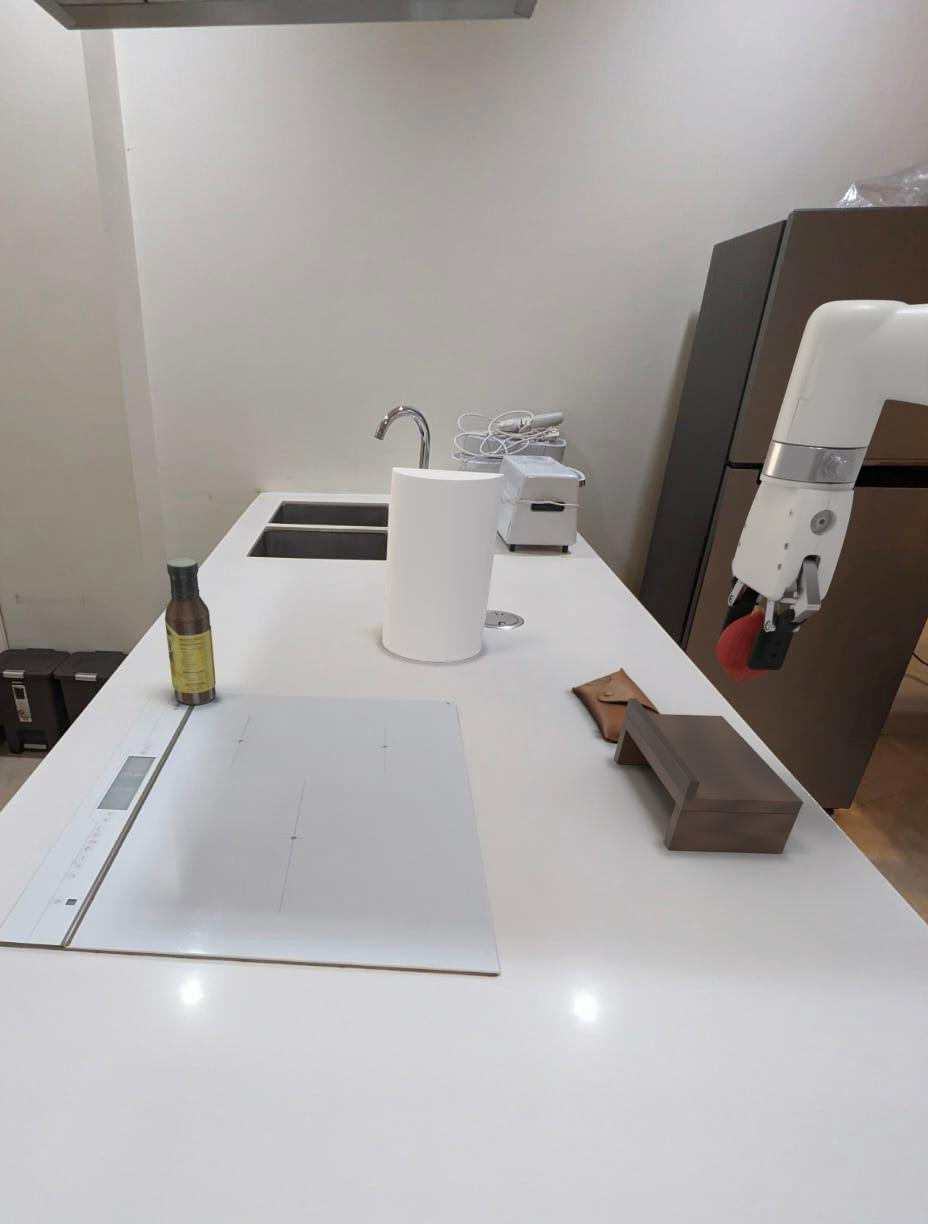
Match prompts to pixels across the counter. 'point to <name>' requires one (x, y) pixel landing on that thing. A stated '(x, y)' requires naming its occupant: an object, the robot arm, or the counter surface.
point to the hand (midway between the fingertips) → (748, 654)
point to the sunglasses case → (612, 701)
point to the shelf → (710, 782)
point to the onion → (740, 645)
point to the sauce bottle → (189, 636)
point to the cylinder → (439, 562)
